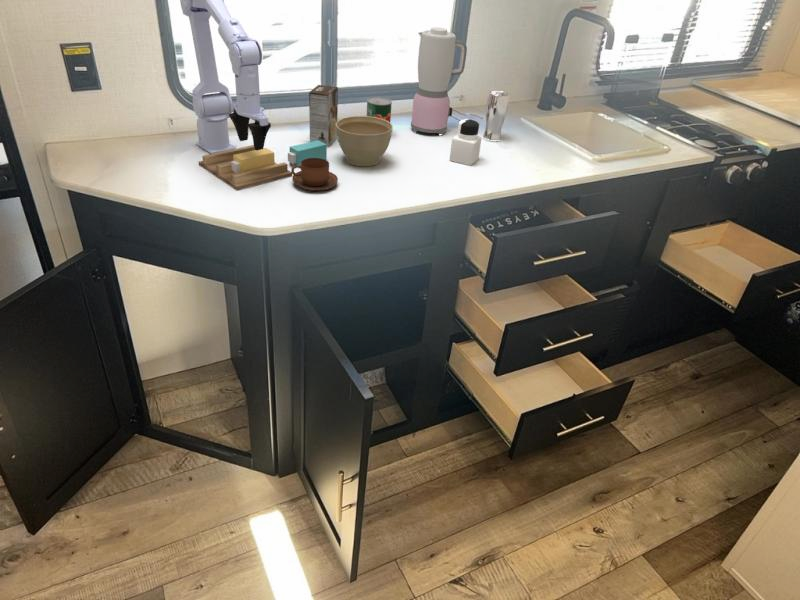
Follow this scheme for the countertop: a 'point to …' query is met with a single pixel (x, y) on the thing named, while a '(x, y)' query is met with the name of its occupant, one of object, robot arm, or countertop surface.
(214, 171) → the comb board
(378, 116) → the canned tomato
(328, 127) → the coffee box
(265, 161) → the ochre plug block
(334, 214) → the countertop surface
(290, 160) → the teal plug block
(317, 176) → the cup and saucer
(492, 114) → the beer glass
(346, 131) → the planter bowl
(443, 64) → the blender
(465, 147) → the medicine bottle
